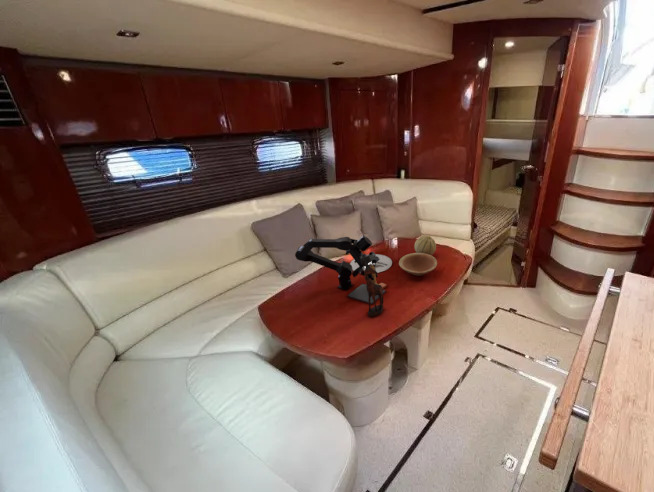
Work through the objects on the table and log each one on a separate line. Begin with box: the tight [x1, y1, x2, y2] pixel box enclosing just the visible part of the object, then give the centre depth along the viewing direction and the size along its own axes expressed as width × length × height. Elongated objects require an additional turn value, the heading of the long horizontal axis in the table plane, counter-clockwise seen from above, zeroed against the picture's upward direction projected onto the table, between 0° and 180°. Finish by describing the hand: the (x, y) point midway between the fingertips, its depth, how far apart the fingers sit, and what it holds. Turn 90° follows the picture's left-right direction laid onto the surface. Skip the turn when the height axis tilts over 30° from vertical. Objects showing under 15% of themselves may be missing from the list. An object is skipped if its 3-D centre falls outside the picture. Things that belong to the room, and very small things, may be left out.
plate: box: [349, 253, 393, 274], centre depth 202 cm, size 28×28×1 cm
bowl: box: [398, 252, 438, 277], centre depth 189 cm, size 24×24×8 cm
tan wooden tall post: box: [369, 265, 380, 285], centre depth 168 cm, size 8×4×15 cm, turn 49°
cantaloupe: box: [413, 235, 437, 256], centre depth 207 cm, size 15×15×15 cm
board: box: [347, 283, 386, 306], centre depth 169 cm, size 16×14×1 cm
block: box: [378, 282, 388, 289], centre depth 176 cm, size 4×4×1 cm
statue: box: [364, 262, 384, 318], centre depth 147 cm, size 12×7×30 cm, turn 139°
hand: (375, 278), depth 167 cm, fingers closed on tan wooden tall post, 3 cm apart
